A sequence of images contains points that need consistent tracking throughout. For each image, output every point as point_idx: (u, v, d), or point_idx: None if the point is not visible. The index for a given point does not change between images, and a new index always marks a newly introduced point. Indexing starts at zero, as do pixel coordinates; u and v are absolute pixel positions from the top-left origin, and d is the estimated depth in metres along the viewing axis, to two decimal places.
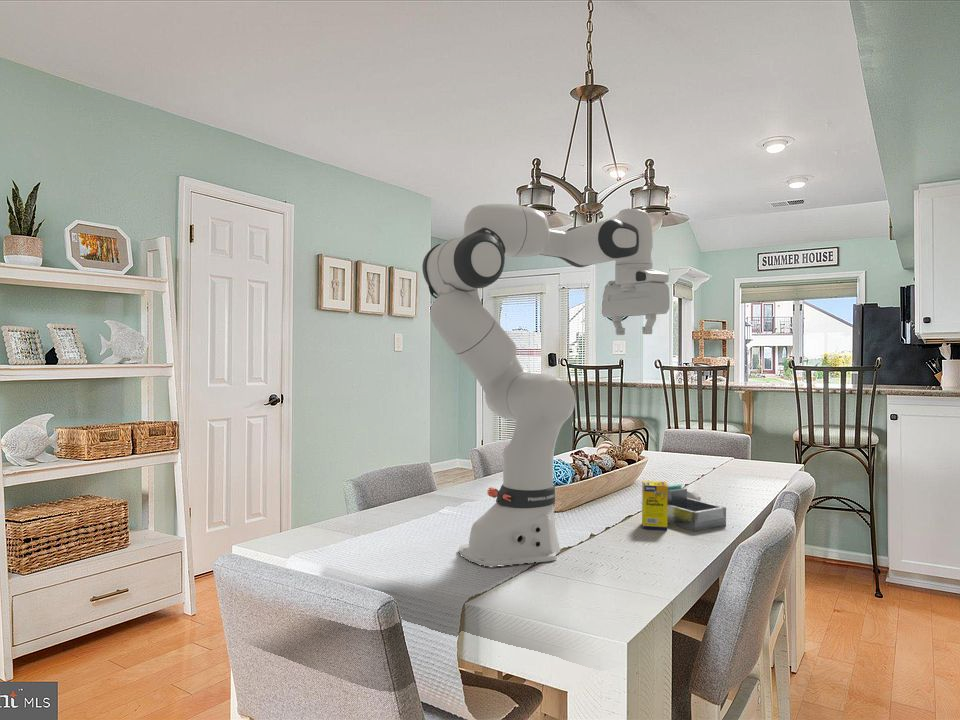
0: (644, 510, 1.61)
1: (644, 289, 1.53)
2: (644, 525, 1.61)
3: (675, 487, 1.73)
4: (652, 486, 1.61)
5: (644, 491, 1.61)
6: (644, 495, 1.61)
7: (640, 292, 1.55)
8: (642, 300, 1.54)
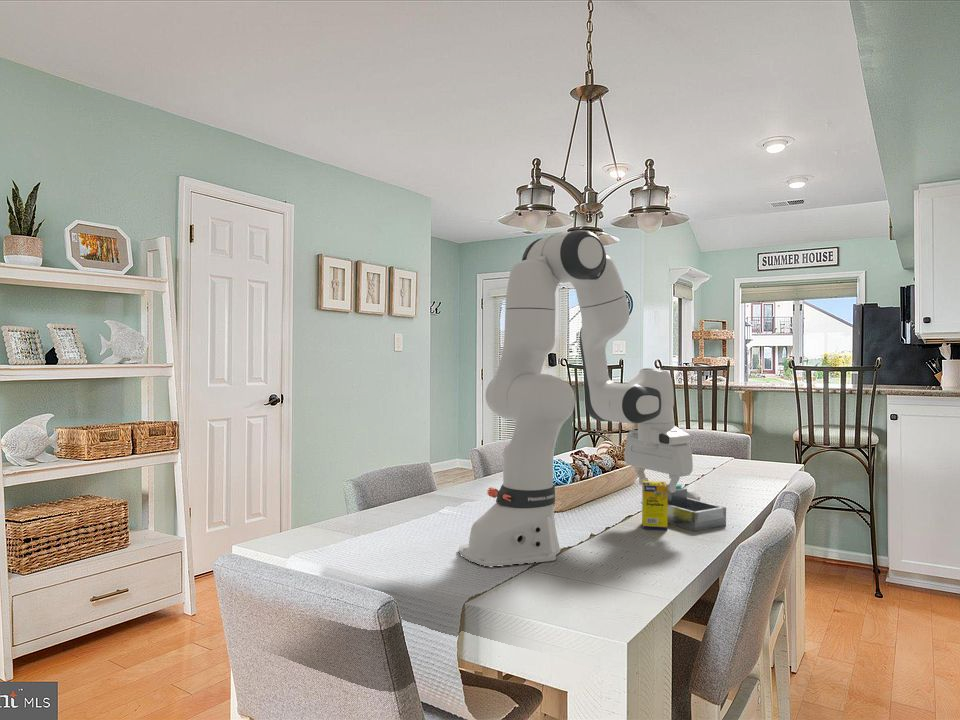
0: (644, 510, 1.61)
1: (667, 450, 1.58)
2: (644, 525, 1.61)
3: None
4: (652, 486, 1.61)
5: (644, 491, 1.61)
6: (644, 495, 1.61)
7: (663, 451, 1.59)
8: (665, 460, 1.59)
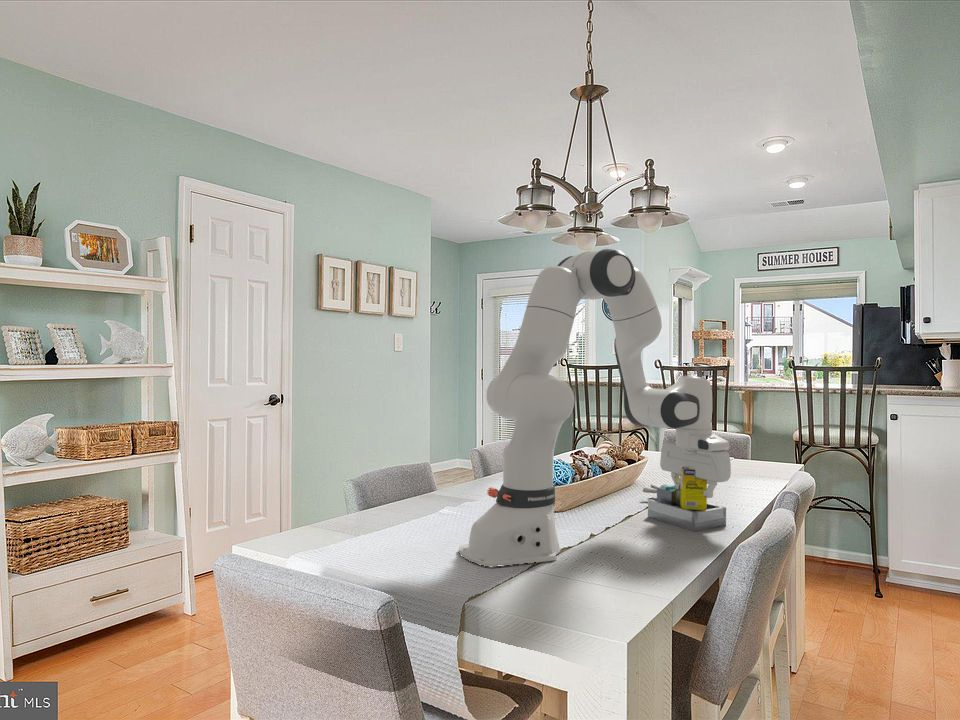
0: (684, 493, 1.64)
1: (705, 456, 1.61)
2: None
3: None
4: (692, 470, 1.64)
5: (684, 475, 1.64)
6: (684, 479, 1.64)
7: (701, 457, 1.62)
8: (703, 466, 1.62)
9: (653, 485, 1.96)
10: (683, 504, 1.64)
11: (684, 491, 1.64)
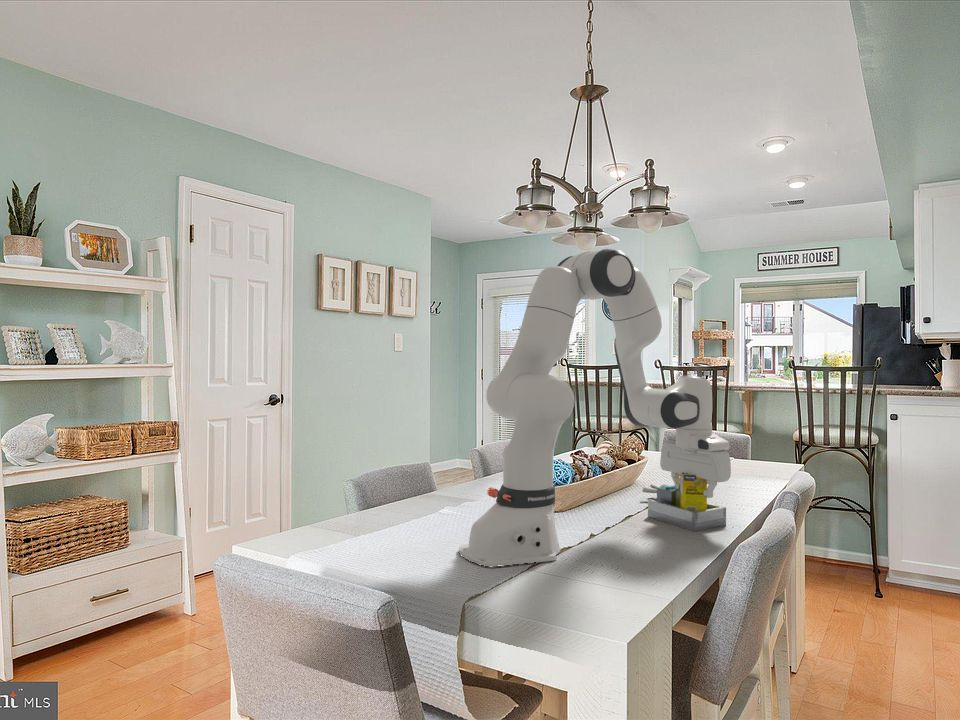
0: (684, 499, 1.64)
1: (705, 456, 1.61)
2: None
3: None
4: (692, 475, 1.64)
5: (684, 480, 1.64)
6: (684, 484, 1.64)
7: (701, 457, 1.62)
8: (703, 466, 1.62)
9: (653, 485, 1.96)
10: None
11: (684, 497, 1.64)
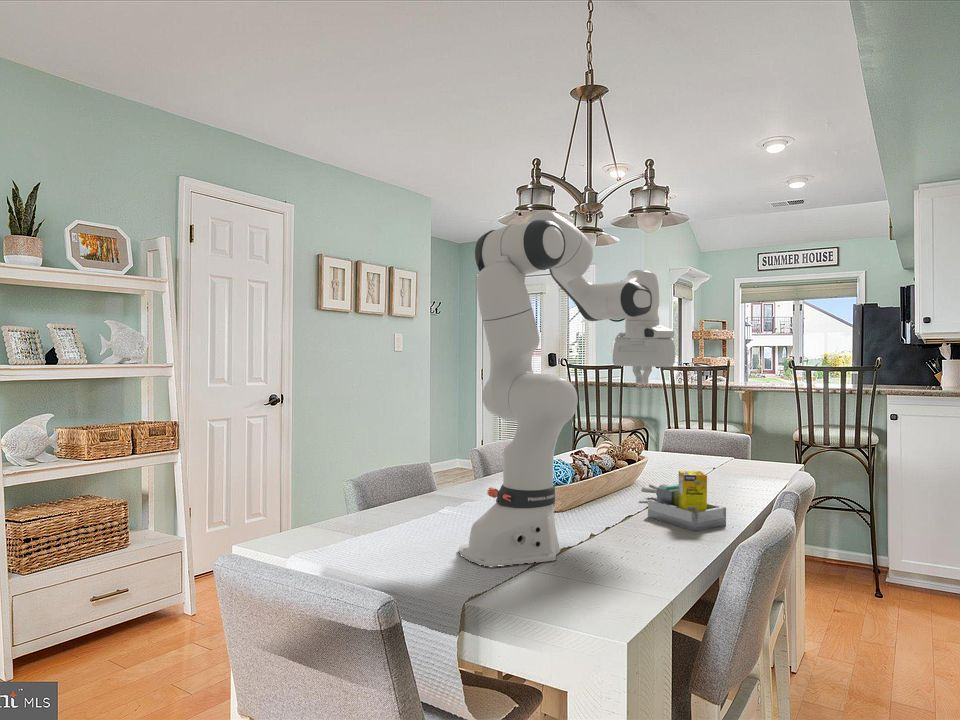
0: (684, 499, 1.64)
1: (651, 344, 1.70)
2: None
3: (675, 487, 1.73)
4: (692, 475, 1.64)
5: (684, 481, 1.64)
6: (684, 484, 1.64)
7: (648, 346, 1.71)
8: (650, 354, 1.70)
9: (652, 485, 1.96)
10: None
11: (684, 497, 1.64)
